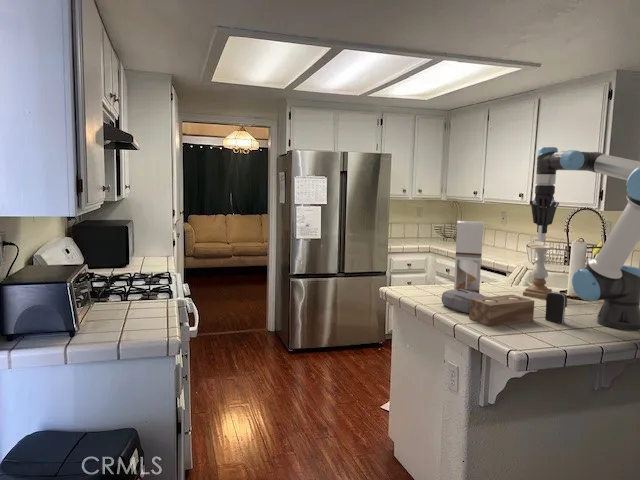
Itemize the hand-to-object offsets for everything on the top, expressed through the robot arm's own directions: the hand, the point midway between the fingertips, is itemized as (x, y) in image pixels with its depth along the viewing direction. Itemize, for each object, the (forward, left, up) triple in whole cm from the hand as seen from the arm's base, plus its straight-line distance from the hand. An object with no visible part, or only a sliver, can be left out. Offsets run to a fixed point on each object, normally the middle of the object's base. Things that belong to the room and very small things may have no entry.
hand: (541, 240), depth 204 cm
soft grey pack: (+9, +30, -30) cm, 43 cm away
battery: (-18, +9, -30) cm, 36 cm away
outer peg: (-9, +34, -28) cm, 45 cm away
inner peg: (-9, +22, -28) cm, 36 cm away
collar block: (-9, +28, -29) cm, 41 cm away
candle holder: (+17, -20, -30) cm, 40 cm away
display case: (+29, +13, -30) cm, 44 cm away
